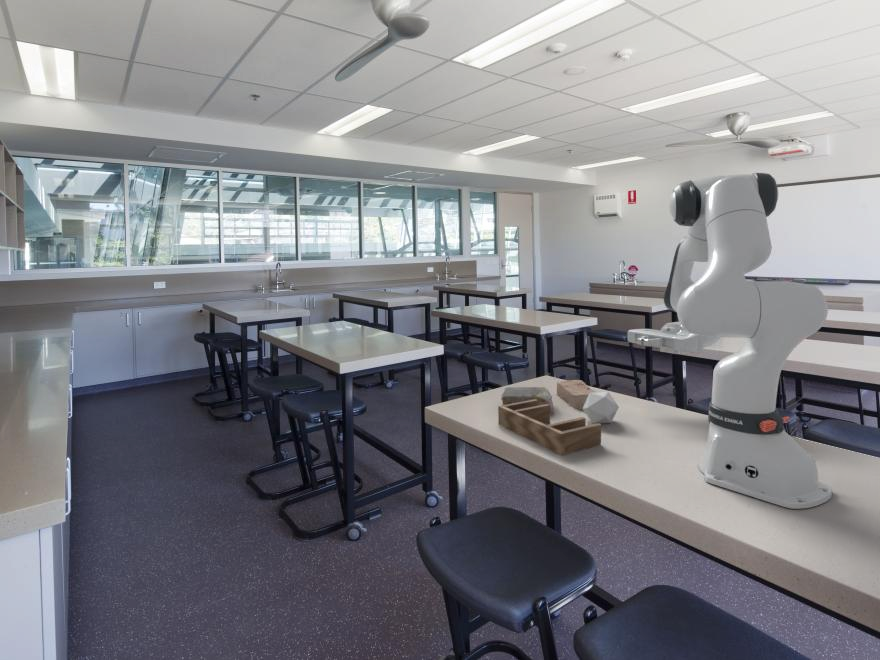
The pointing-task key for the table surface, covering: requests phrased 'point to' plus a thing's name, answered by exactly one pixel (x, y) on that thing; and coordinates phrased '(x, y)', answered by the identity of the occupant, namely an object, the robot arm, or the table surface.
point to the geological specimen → (527, 395)
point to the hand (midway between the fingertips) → (642, 342)
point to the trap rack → (548, 427)
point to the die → (600, 407)
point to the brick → (574, 392)
